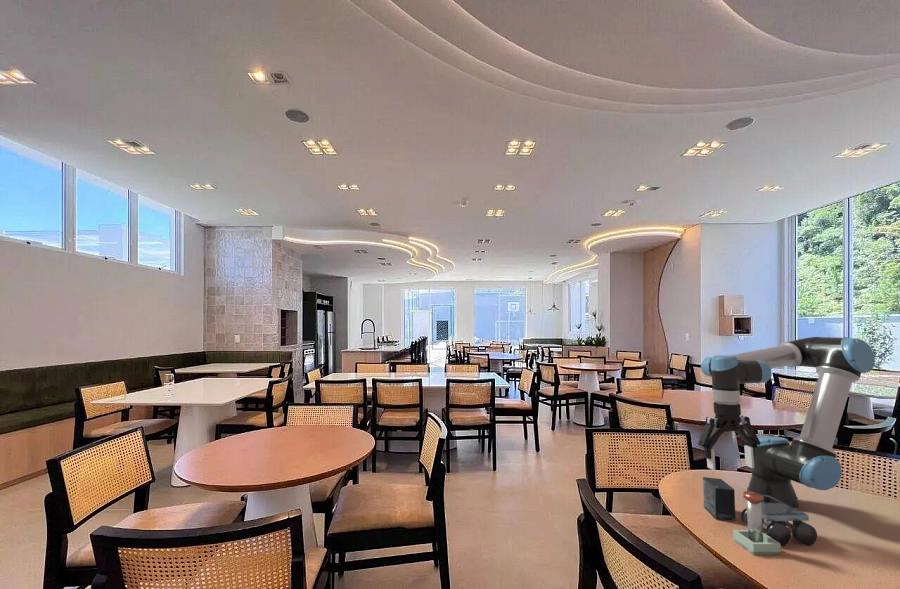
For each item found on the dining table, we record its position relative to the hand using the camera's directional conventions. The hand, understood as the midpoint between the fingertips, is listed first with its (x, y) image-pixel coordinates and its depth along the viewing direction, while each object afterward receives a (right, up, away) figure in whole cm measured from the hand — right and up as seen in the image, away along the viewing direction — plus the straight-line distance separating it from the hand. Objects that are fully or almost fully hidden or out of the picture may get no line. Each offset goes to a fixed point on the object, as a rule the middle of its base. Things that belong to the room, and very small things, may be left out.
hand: (730, 467), depth 136 cm
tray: (-3, -17, -15) cm, 23 cm away
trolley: (+9, -17, -8) cm, 21 cm away
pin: (-3, -16, -15) cm, 22 cm away
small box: (0, -19, +6) cm, 20 cm away
